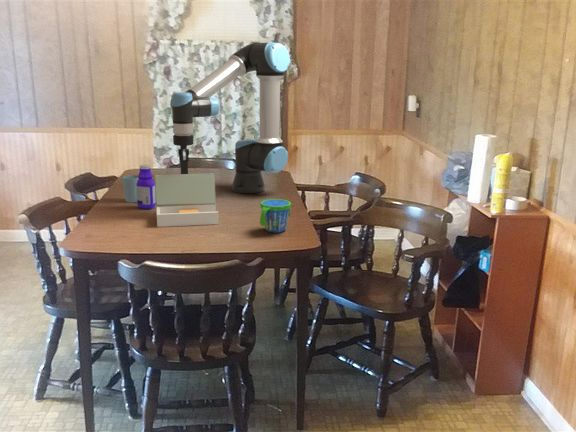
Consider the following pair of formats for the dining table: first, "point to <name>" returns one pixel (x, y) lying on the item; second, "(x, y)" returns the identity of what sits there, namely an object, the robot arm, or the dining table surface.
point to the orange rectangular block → (188, 211)
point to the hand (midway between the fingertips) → (185, 195)
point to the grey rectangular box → (187, 215)
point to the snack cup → (275, 214)
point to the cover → (185, 189)
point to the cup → (130, 187)
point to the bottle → (146, 188)
